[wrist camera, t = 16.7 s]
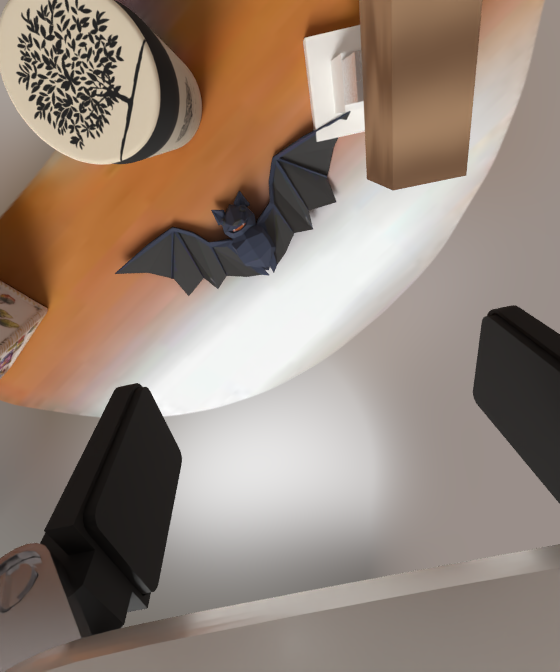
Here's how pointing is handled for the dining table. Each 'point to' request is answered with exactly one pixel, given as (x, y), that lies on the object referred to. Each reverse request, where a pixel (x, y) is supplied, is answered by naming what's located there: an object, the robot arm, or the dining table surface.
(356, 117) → the fulcrum stand
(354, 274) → the dining table surface
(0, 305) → the decorative jar
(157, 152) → the travel mug
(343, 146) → the dining table surface
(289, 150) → the decorative bat
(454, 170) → the wooden block
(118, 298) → the dining table surface
